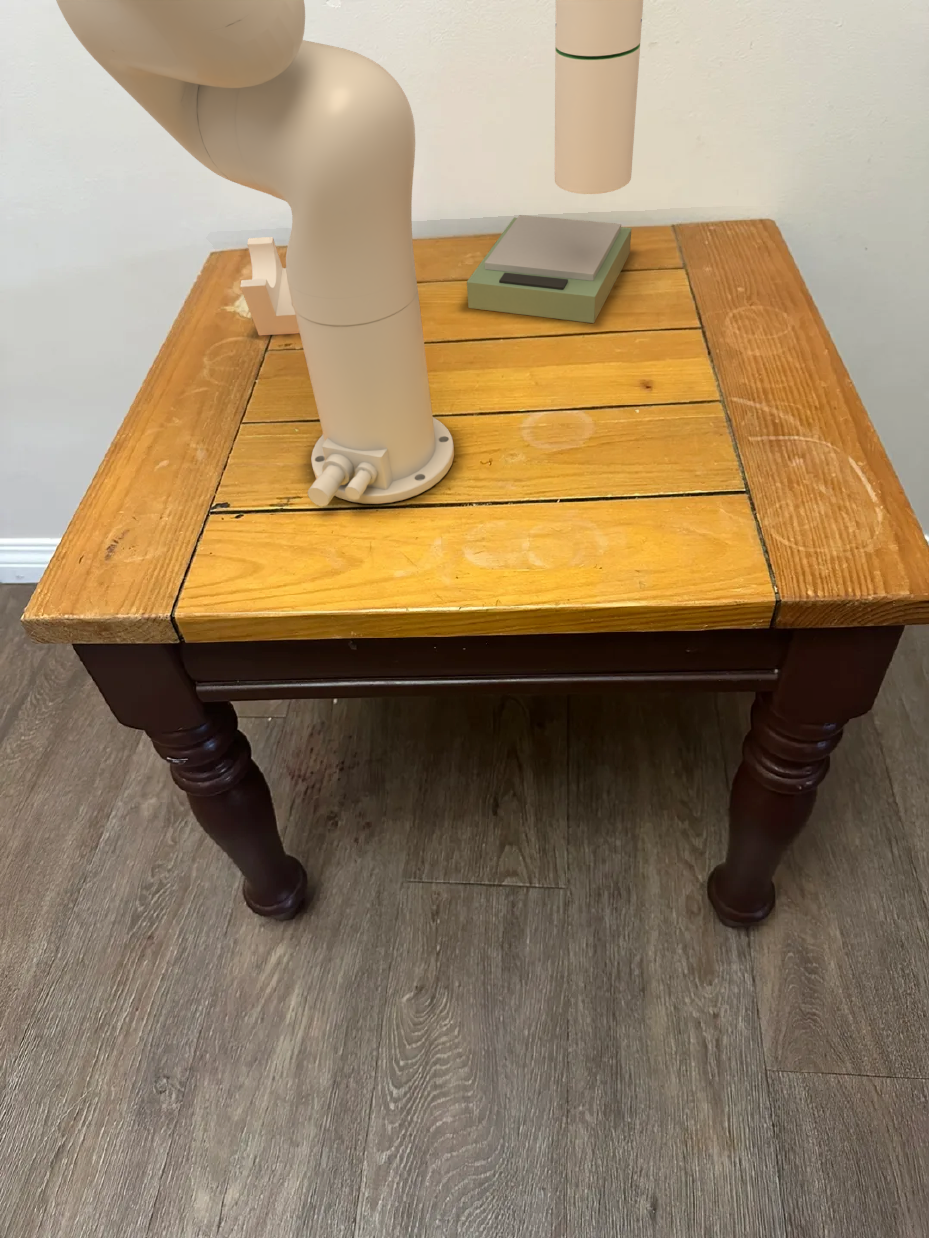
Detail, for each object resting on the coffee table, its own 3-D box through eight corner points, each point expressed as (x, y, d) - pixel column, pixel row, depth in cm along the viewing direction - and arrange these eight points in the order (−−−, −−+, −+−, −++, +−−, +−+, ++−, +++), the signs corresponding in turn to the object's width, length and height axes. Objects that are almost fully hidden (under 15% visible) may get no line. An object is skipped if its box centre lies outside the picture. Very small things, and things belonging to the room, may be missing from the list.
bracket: (261, 342, 94) (240, 287, 87) (268, 295, 97) (248, 238, 90) (379, 335, 93) (367, 279, 86) (382, 288, 96) (371, 231, 90)
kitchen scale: (594, 323, 90) (595, 289, 87) (468, 308, 94) (466, 274, 91) (629, 254, 100) (632, 220, 97) (514, 242, 104) (513, 210, 101)
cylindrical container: (631, 162, 83) (655, -191, 65) (631, 193, 78) (657, -178, 60) (556, 164, 84) (559, -183, 66) (552, 195, 79) (553, -170, 61)
